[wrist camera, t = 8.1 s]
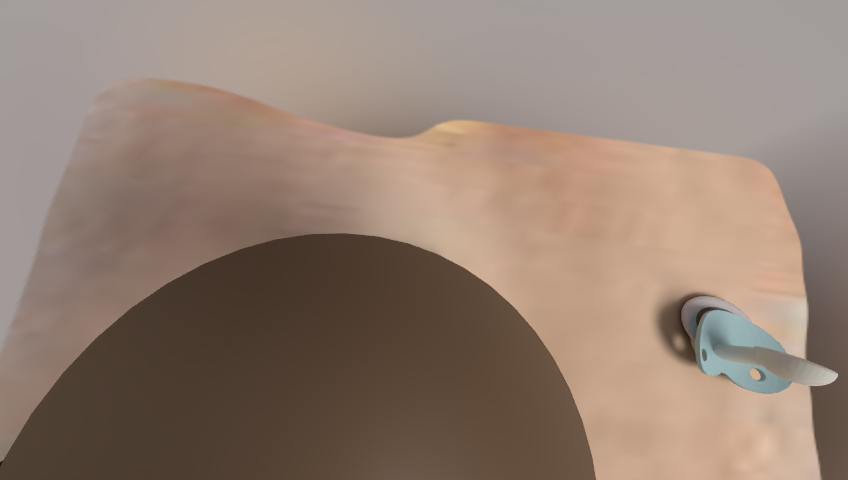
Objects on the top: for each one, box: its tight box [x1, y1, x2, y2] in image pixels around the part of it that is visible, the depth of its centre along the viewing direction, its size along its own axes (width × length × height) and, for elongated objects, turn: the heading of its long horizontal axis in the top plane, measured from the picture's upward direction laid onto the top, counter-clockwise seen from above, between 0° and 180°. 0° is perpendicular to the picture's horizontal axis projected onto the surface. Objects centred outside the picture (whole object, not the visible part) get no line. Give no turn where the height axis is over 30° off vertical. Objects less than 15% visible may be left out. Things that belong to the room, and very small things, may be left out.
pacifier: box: [681, 296, 838, 394], centre depth 20 cm, size 7×6×6 cm
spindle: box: [0, 234, 596, 480], centre depth 8 cm, size 5×5×12 cm
